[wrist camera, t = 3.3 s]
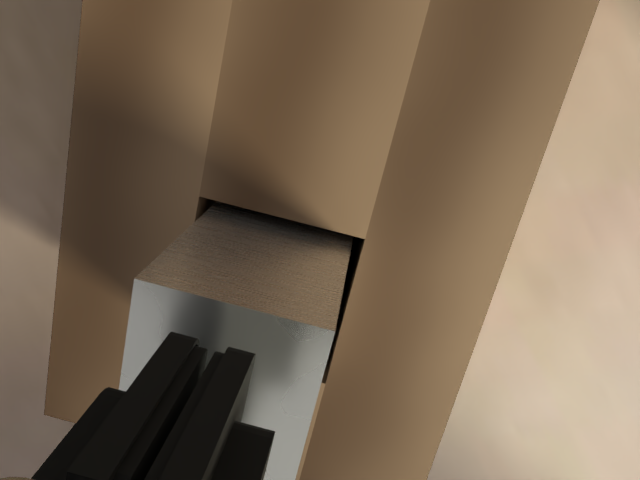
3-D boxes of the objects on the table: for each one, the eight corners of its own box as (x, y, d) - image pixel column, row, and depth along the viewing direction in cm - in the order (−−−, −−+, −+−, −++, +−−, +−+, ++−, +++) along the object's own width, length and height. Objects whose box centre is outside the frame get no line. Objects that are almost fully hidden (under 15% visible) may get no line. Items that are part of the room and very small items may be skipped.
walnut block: (637, -349, 19) (842, -670, 10) (406, 366, 27) (413, 514, 19) (261, -434, 19) (157, -810, 11) (150, 299, 28) (44, 414, 19)
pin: (357, 215, 19) (335, 331, 12) (328, 326, 20) (291, 494, 13) (234, 184, 19) (134, 278, 12) (213, 296, 21) (111, 445, 13)
